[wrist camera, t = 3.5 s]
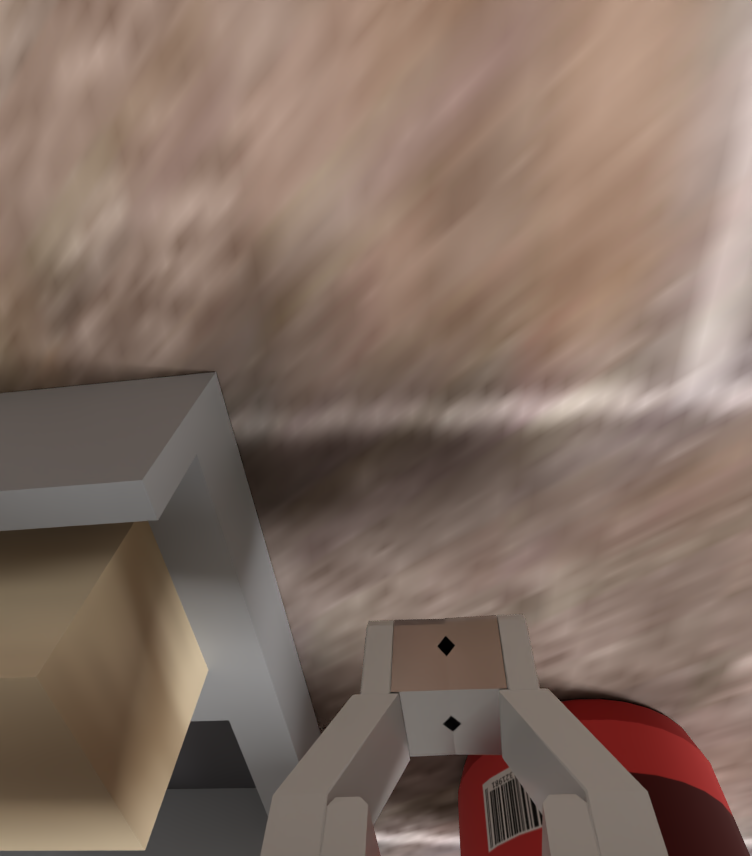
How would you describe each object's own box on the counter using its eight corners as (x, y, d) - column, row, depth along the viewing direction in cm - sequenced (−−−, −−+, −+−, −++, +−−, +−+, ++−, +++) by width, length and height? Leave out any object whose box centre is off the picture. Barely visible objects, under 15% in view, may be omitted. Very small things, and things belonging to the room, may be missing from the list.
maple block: (-78, 524, 13) (-257, 688, 9) (143, 508, 12) (36, 676, 9) (21, 676, 15) (-93, 850, 12) (208, 669, 15) (145, 850, 11)
